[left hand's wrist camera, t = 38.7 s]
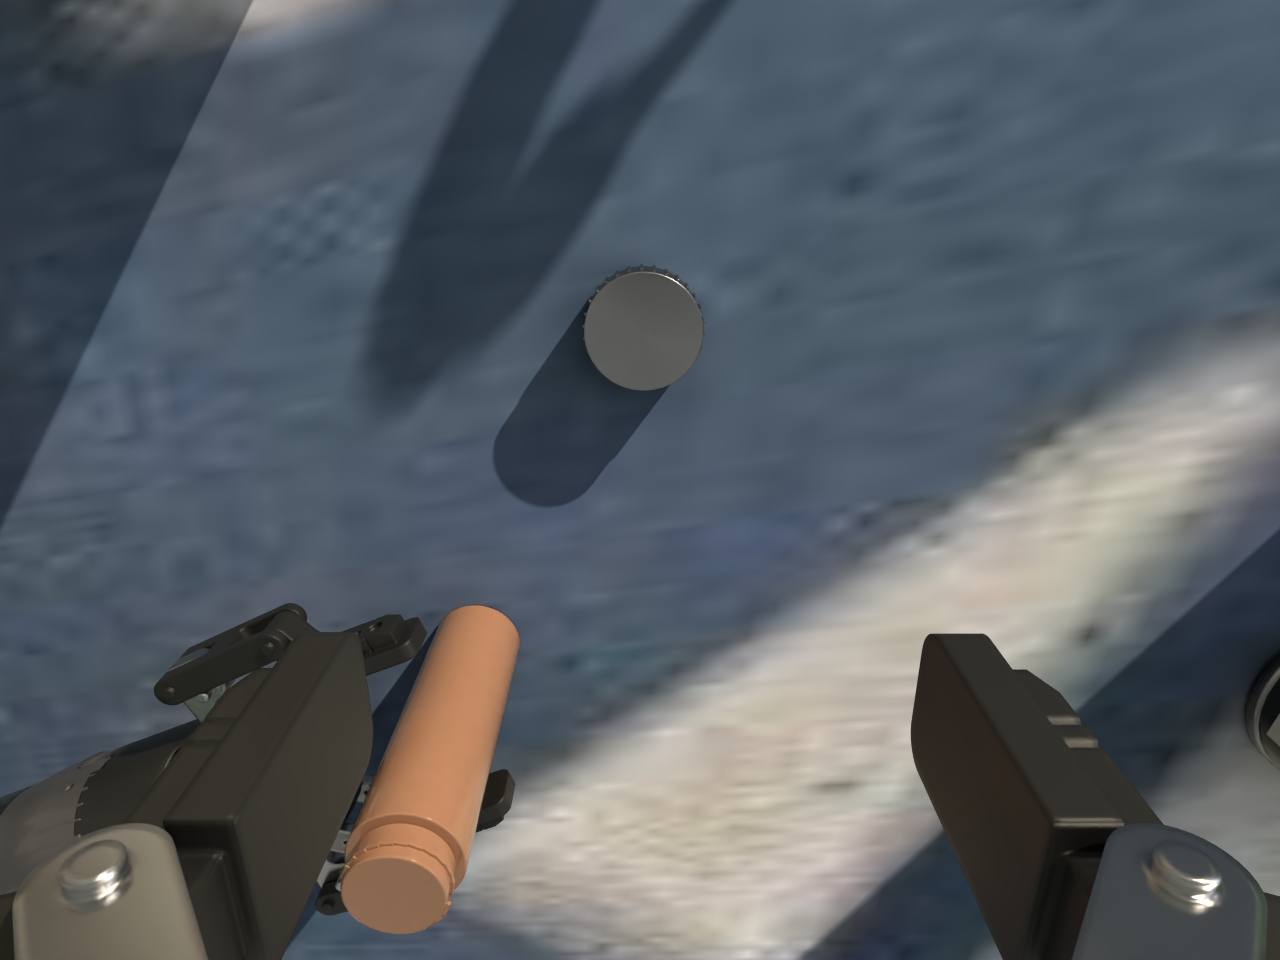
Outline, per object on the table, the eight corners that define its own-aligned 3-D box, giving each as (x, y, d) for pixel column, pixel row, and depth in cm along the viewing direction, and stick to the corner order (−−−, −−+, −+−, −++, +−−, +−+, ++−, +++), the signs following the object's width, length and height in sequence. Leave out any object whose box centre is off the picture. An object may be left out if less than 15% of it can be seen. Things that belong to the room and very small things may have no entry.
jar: (424, 659, 41) (314, 921, 27) (451, 592, 40) (349, 832, 26) (502, 687, 42) (434, 957, 28) (532, 622, 41) (475, 872, 26)
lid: (650, 404, 36) (650, 416, 35) (560, 331, 35) (556, 340, 34) (726, 318, 35) (730, 325, 33) (635, 238, 34) (635, 242, 32)
